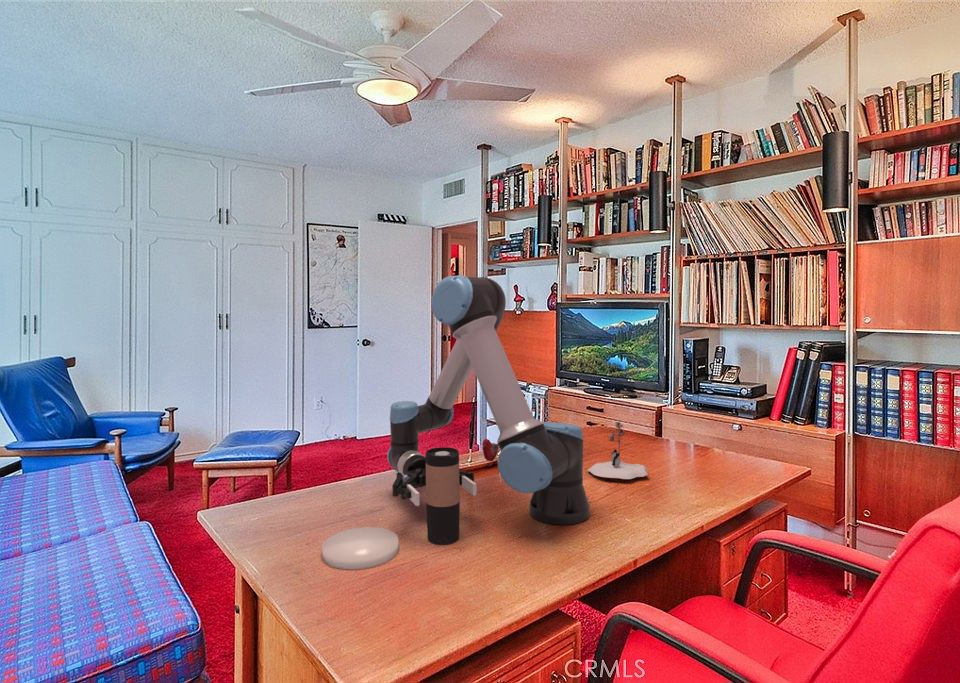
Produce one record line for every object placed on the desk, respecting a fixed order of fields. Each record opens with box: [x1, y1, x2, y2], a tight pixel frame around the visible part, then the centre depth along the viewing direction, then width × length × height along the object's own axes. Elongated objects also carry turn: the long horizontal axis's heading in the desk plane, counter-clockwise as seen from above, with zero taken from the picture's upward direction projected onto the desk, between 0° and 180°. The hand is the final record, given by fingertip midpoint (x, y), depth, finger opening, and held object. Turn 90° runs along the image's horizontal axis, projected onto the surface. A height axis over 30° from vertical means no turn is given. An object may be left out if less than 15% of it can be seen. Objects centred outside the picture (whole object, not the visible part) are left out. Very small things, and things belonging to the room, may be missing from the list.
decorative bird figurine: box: [482, 438, 499, 467], centre depth 177 cm, size 3×18×10 cm, turn 158°
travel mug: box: [425, 446, 461, 546], centre depth 120 cm, size 8×8×20 cm
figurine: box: [587, 421, 649, 480], centre depth 166 cm, size 20×18×16 cm
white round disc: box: [321, 526, 400, 571], centre depth 114 cm, size 16×16×2 cm
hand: (447, 494), depth 117 cm, fingers open, 13 cm apart
